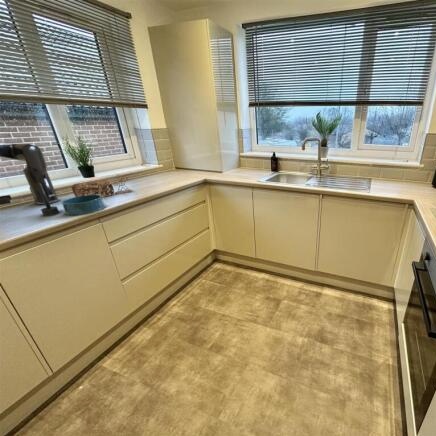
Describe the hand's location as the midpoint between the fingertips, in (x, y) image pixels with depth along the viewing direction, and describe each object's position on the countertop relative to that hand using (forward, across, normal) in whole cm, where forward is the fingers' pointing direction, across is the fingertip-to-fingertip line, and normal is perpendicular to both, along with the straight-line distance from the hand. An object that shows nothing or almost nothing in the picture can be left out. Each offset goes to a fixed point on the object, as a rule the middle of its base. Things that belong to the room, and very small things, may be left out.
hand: (10, 198), depth 111 cm
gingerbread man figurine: (+47, +18, +11) cm, 52 cm away
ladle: (+11, 0, +11) cm, 15 cm away
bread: (+33, +20, +11) cm, 39 cm away
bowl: (+24, -6, +10) cm, 27 cm away
